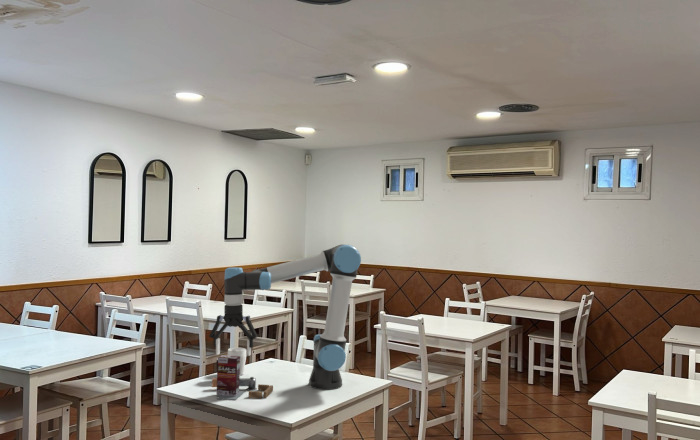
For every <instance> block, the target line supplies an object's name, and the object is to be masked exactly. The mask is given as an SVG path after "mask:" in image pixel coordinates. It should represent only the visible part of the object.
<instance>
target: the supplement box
mask: <svg viewBox="0 0 700 440" xmlns="http://www.w3.org/2000/svg"><path fill="white" fill-rule="evenodd" d="M217 358H218V366H217V365H216V374H217V375H216V378H217V387H216V396H220V395H223V396H237V395H238V394H239V391H240V386H239V378H241V377H240V376H241V375H240V356H228V355H224V354H223V355H220V356H219V355H218V357H217Z"/></svg>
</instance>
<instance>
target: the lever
mask: <svg viewBox="0 0 700 440" xmlns="http://www.w3.org/2000/svg"><path fill="white" fill-rule="evenodd" d="M211 382H212V383H211V387H212V388H217V377H212V379H211ZM256 383H257V379H256V377H254V376H251V377H247V378H245V377H244V378H241V377H240V378H239V387H247V388H248V389H255V388H257V387H256Z"/></svg>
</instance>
